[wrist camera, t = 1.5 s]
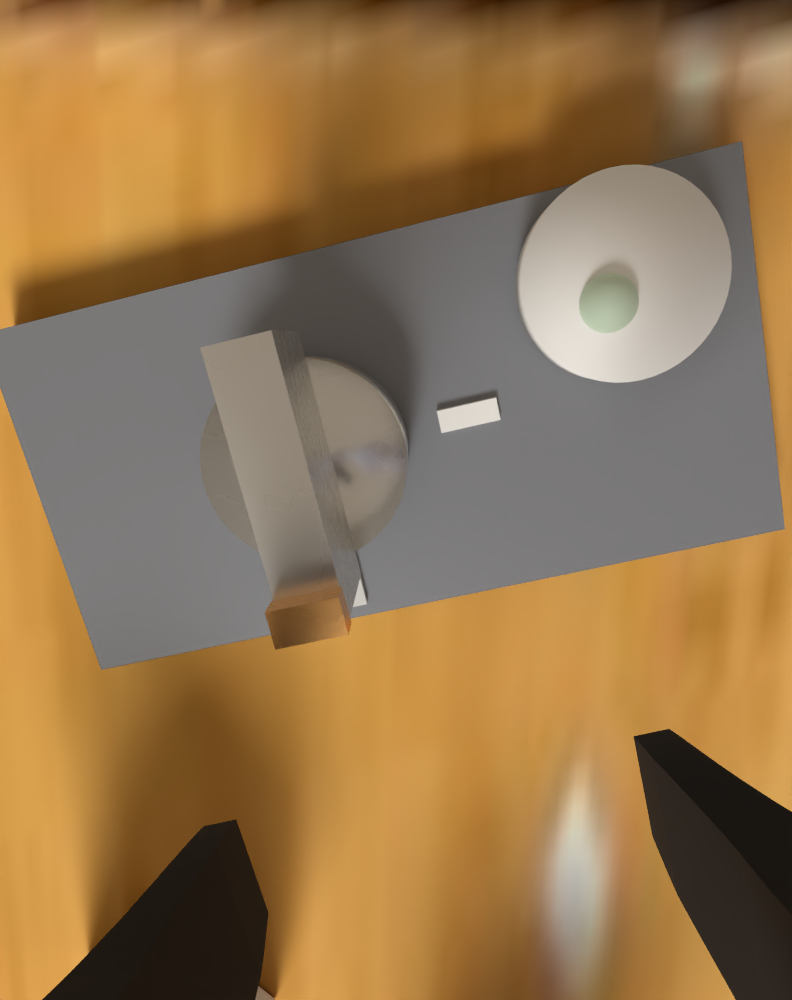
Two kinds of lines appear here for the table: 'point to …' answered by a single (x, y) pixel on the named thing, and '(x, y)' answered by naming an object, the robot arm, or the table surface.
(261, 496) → the knob
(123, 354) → the base
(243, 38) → the table surface
